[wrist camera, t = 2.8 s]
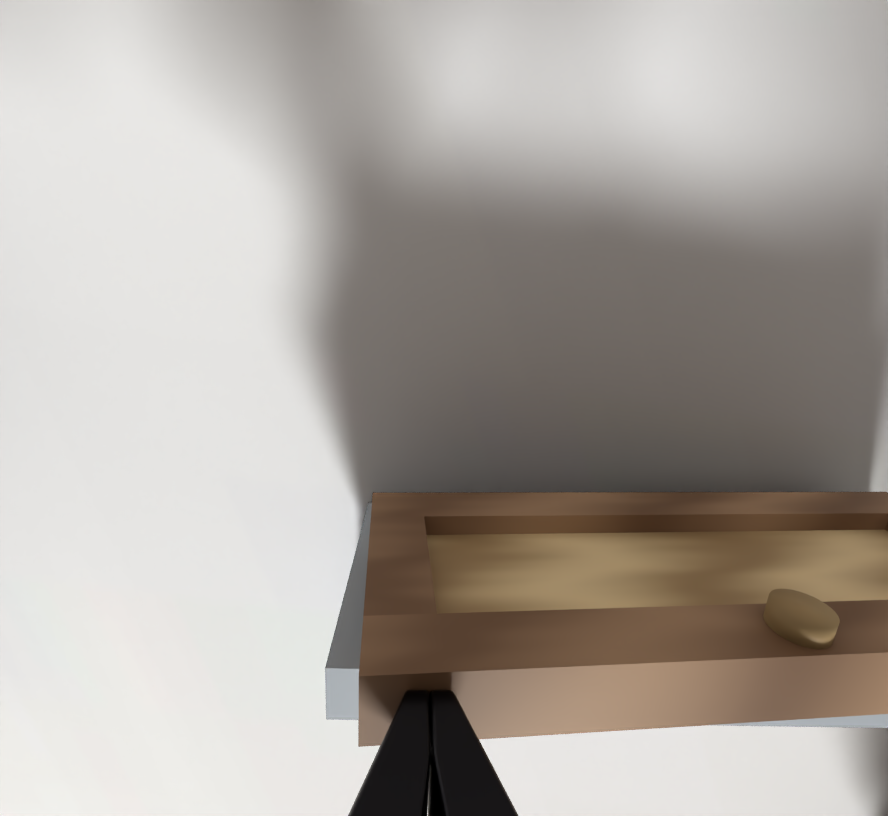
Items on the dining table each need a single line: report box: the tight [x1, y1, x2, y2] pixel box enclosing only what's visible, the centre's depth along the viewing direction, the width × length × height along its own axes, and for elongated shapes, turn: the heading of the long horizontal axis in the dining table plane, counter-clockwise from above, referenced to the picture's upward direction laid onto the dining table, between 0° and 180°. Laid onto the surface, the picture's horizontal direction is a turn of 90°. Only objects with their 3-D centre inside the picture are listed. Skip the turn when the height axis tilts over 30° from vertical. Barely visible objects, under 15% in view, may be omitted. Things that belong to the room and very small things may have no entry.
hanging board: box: [325, 503, 888, 728], centre depth 16 cm, size 20×6×8 cm, turn 87°
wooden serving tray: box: [359, 492, 888, 747], centre depth 13 cm, size 18×2×7 cm, turn 87°
